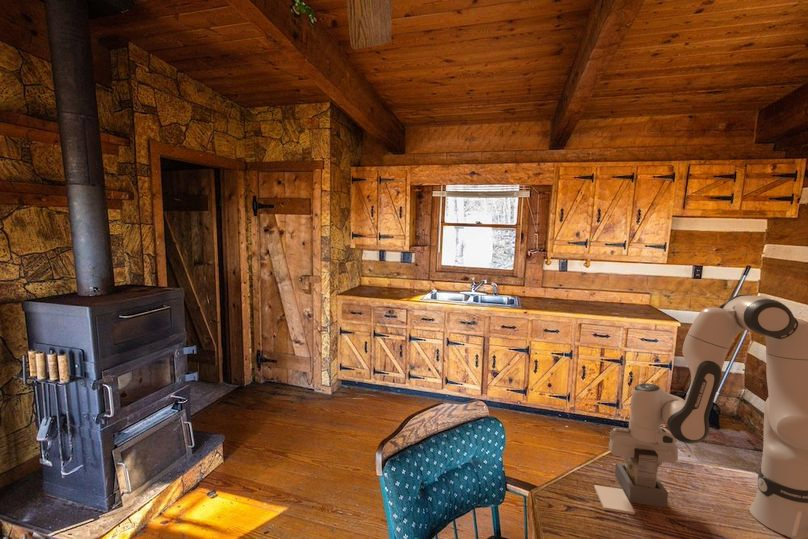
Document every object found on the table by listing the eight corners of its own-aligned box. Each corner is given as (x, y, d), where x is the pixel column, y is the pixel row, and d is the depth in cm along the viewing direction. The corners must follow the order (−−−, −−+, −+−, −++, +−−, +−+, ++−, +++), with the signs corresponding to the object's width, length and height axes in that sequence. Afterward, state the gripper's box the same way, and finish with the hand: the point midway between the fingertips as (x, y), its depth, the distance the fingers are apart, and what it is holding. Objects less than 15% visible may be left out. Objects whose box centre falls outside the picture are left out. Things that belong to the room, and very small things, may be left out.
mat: (622, 491, 127) (622, 489, 127) (634, 514, 117) (634, 512, 117) (593, 487, 129) (594, 484, 129) (603, 509, 119) (603, 507, 119)
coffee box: (624, 480, 133) (627, 437, 132) (643, 483, 132) (647, 440, 130) (634, 498, 124) (637, 452, 123) (655, 501, 123) (659, 455, 122)
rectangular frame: (648, 479, 134) (649, 466, 133) (666, 507, 120) (667, 492, 120) (615, 475, 136) (615, 462, 136) (629, 501, 122) (630, 487, 122)
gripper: (613, 432, 125) (610, 470, 127) (682, 440, 121) (678, 479, 122) (607, 422, 131) (605, 459, 133) (672, 430, 127) (669, 468, 128)
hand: (640, 469), depth 127 cm, fingers closed on coffee box, 6 cm apart
